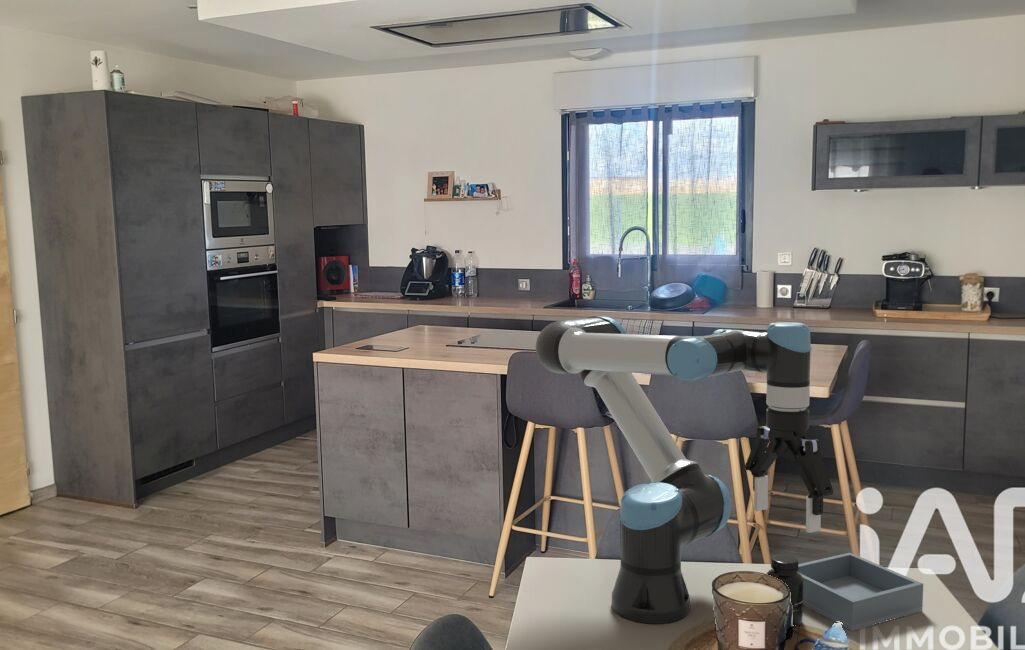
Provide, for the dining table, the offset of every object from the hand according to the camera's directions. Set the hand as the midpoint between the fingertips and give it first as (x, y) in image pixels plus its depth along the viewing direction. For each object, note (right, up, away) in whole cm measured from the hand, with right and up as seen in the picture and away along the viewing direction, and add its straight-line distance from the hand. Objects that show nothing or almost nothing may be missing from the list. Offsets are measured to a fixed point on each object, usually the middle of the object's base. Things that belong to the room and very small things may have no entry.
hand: (786, 520), depth 158 cm
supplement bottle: (0, -20, +2) cm, 20 cm away
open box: (+16, -18, +9) cm, 26 cm away
